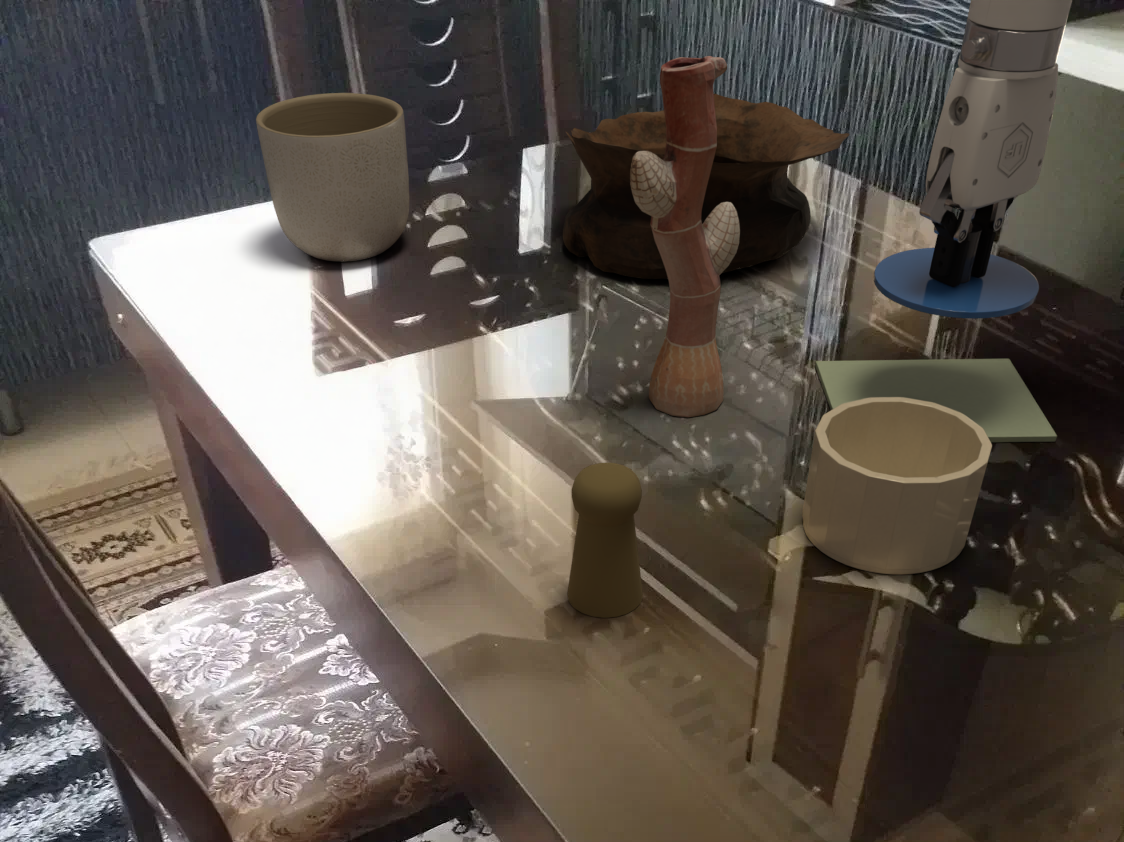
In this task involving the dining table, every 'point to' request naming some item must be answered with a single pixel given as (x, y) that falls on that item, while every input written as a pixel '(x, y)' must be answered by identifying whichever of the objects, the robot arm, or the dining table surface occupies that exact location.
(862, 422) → the pot
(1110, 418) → the dining table surface
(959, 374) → the mat
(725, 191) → the bowl
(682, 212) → the vase
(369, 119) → the planter
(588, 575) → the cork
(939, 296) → the lid
